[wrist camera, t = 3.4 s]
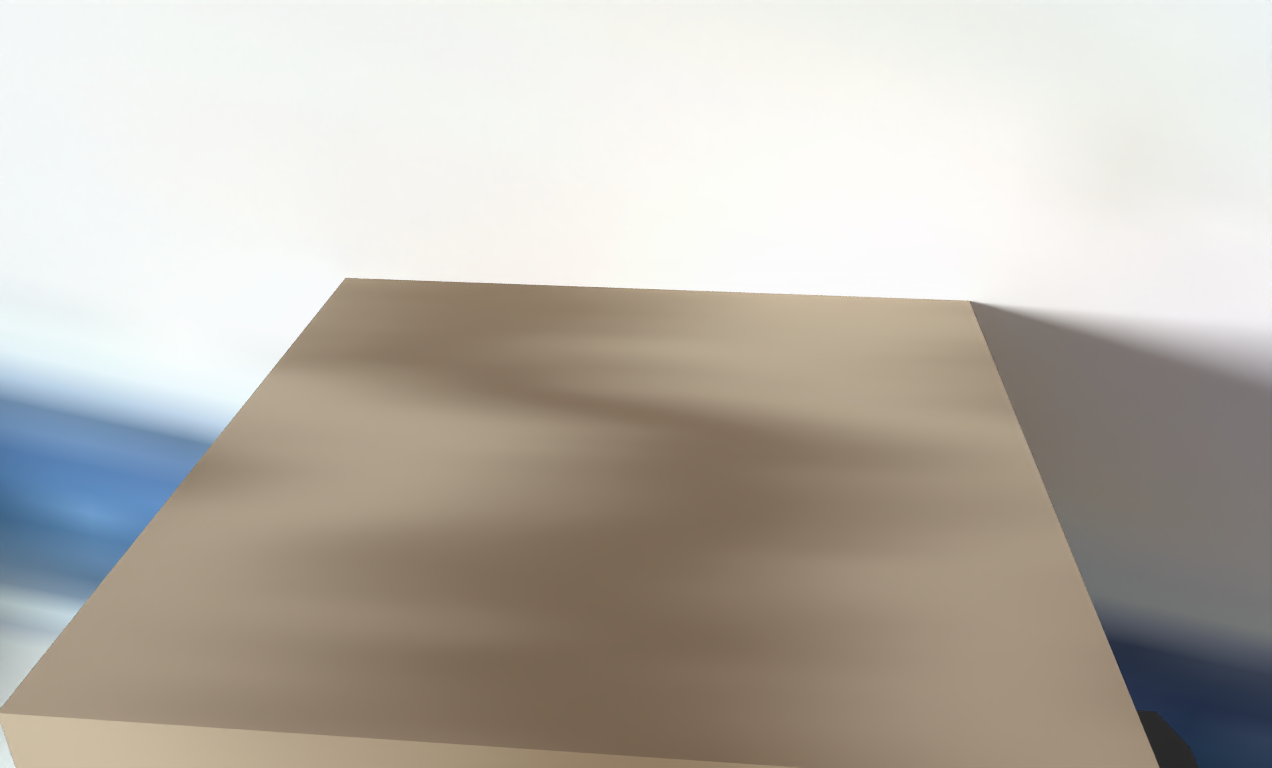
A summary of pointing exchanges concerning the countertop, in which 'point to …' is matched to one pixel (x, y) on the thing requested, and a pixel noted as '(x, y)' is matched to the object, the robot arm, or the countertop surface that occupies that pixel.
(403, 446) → the wooden cube
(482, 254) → the countertop surface
